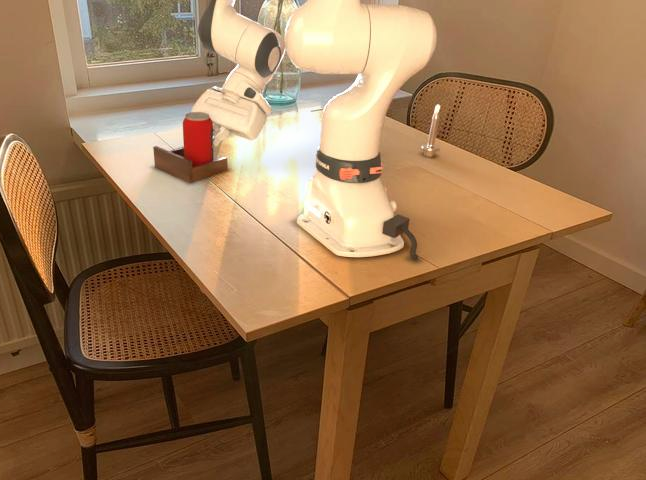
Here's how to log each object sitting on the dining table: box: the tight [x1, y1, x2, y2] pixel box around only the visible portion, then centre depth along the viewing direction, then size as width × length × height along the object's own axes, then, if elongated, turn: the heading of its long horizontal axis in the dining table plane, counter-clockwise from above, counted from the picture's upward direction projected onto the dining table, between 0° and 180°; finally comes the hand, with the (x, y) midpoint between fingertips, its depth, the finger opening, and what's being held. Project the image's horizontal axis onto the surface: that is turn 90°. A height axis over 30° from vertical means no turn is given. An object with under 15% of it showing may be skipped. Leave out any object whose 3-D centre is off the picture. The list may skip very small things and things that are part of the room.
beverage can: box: [182, 111, 215, 167], centre depth 133 cm, size 7×7×12 cm
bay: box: [152, 145, 228, 184], centre depth 134 cm, size 11×12×5 cm
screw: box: [420, 104, 442, 158], centre depth 146 cm, size 13×5×5 cm
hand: (210, 143), depth 137 cm, fingers closed, pressing on beverage can
